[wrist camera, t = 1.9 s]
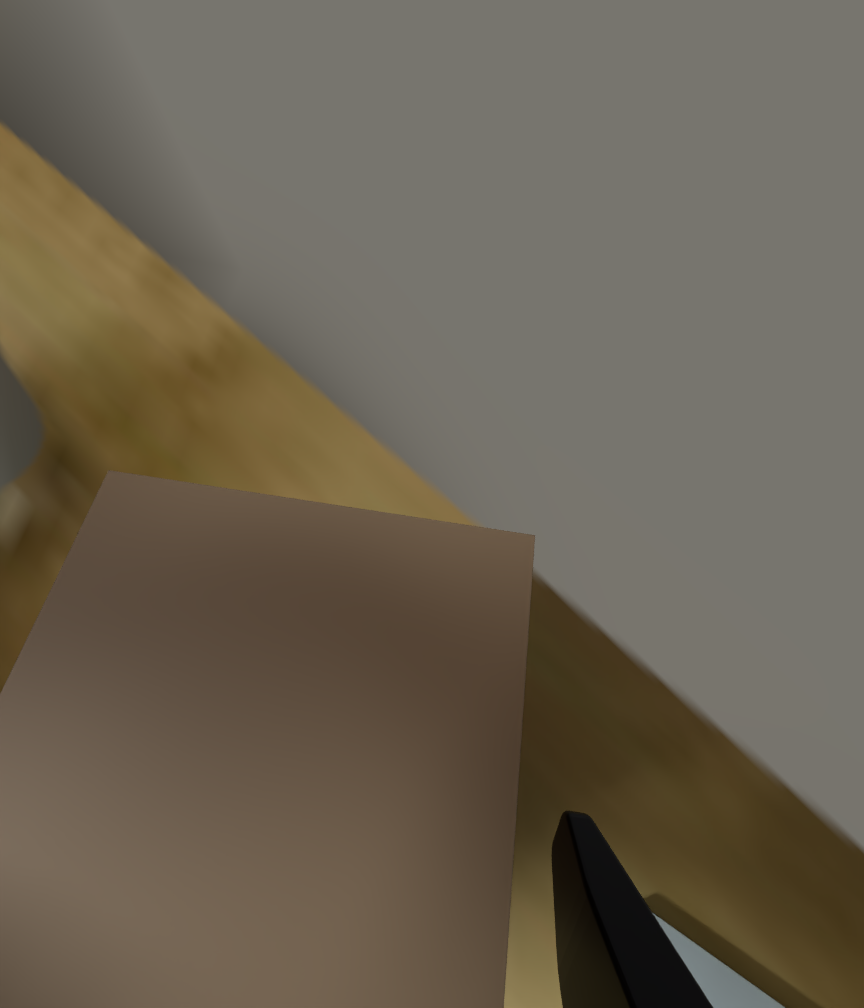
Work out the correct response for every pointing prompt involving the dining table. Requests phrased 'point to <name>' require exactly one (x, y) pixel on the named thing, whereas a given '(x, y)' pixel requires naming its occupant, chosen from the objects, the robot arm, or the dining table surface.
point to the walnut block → (264, 758)
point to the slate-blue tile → (717, 975)
